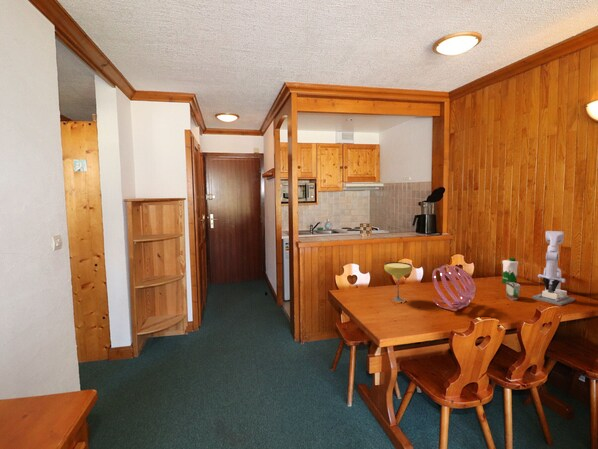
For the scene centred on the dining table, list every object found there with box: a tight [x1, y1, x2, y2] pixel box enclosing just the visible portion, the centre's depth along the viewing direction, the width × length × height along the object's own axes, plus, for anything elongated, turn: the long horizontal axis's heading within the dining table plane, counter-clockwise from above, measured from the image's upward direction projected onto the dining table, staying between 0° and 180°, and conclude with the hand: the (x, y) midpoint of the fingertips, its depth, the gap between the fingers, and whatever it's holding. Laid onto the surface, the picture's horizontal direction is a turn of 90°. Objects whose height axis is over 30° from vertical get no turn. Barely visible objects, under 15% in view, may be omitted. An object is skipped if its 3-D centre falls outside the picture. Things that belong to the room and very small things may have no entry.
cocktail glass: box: [383, 261, 413, 301], centre depth 211 cm, size 18×18×25 cm
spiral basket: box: [431, 264, 476, 311], centre depth 198 cm, size 28×28×27 cm
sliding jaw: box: [541, 284, 560, 300], centre depth 205 cm, size 4×8×9 cm, turn 27°
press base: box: [532, 289, 576, 306], centre depth 207 cm, size 18×16×6 cm
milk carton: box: [501, 257, 519, 284], centre depth 245 cm, size 9×9×20 cm
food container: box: [505, 282, 521, 302], centre depth 211 cm, size 12×6×10 cm, turn 168°
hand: (550, 290), depth 205 cm, fingers closed on sliding jaw, 3 cm apart
